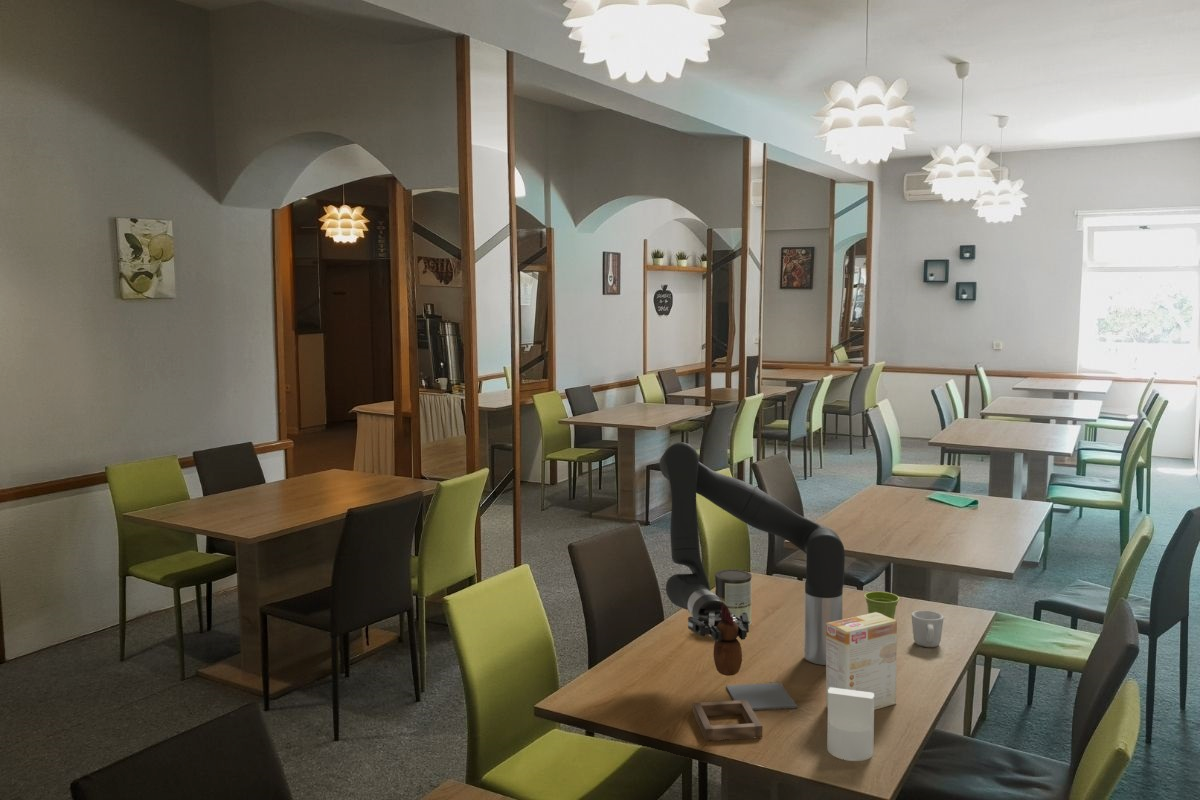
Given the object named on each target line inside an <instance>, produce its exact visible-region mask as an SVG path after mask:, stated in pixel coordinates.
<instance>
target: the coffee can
mask: <svg viewBox="0 0 1200 800" xmlns="http://www.w3.org/2000/svg"><path fill="white" fill-rule="evenodd" d="M752 577H753V575H752V573H750V572H749V571H745V570H742V569H722V570H718V571H717V572H715V573H714V579H715V583H714V585H715V586H714V587H715V590H714V591H715V592H714V594H715V595H717V596H718V597H719V598H720V599H721V600H722V601H723V602H724V603H725V604H726V606H727V607H728V609H729V611H730V612H731V613H733V614H734V615H735V616H740V615H742V613H744V612H745V613H747V615H748V620H749V626H751V625H752Z"/></svg>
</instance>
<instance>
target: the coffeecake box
mask: <svg viewBox="0 0 1200 800" xmlns="http://www.w3.org/2000/svg"><path fill="white" fill-rule="evenodd" d="M897 622H898V620H896V619H895V618H894V619H892V618H889V617H887V616H884V615H883V614H880V613H877V612H874V613H869V614H868V613H866V614H861V615H857V616H852V617H849V618H848V617H847V618H844V619H843V618H842V620H838V621H834V622H829V623H826V665H825V679H826V680H825V707H826V708H827V709H828V689H829V688H830V687H833V688H841V689H848V690H856V691H864V692H871V693H874V711H875V710H879V709H883V708H886V707H890V706H893V705H897V641H898V639H897V637H898V636H897V630H898V627H897V626H898V623H897Z"/></svg>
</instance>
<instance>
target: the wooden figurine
mask: <svg viewBox="0 0 1200 800" xmlns="http://www.w3.org/2000/svg"><path fill="white" fill-rule="evenodd" d="M717 628H718V629H719V630H720V631H721V642H717V640H714V645H713V661H714V665H715V668H716V671H717V672H718V673H719V674H721V675H723V676H725V677H726V676H727V677H728V676H729V677H730V676H735V675H737V674H738V673H739V672H740V670H741V666H742V661H743V651H742V646H741V643H740V641H739V640H738V639H737V638H739V637H738V634H739V631H738V625H737V623H736V622H734V621H733V617H731V615H730V612H728V608H727V606H726V609H725V608H724V603H723V602H722V609H721V621H720V622H719V623H718V625H717Z"/></svg>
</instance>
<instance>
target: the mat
mask: <svg viewBox="0 0 1200 800" xmlns="http://www.w3.org/2000/svg"><path fill="white" fill-rule="evenodd" d="M726 689H727V691H728V693H729V695H730V697H731V698H732V701H737V700H747V702H748V703H749V705H750V707H751V708H752V710H753V711H763V710H762V709H771V710H781V709H780V708H784V710H785V709H786V710H787V708H788V709H797V708H798V705H797V704H796V702H795V701H794V700H793V698H792V697H791V695H790V694H789V693H788V691H787V690H786V688H785V687H784V686H783V685H782V683H781V682H769V683H752V684H751V683H750V684H747V683H746V684H732V685H726Z"/></svg>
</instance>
